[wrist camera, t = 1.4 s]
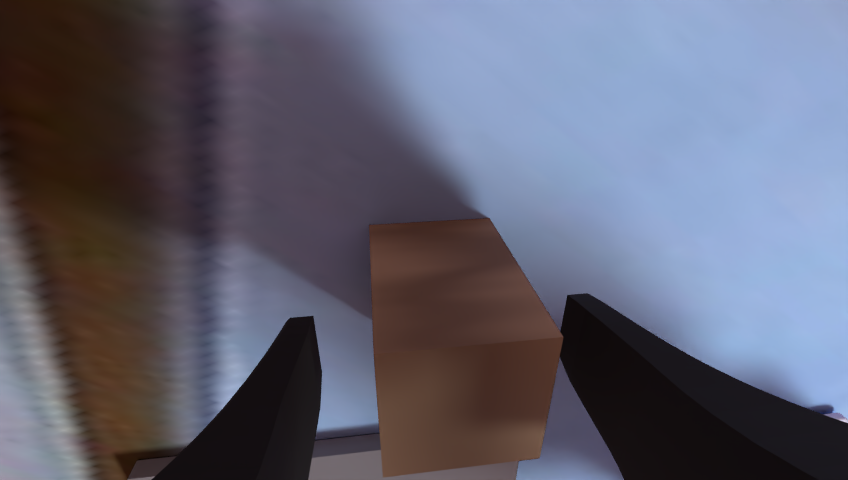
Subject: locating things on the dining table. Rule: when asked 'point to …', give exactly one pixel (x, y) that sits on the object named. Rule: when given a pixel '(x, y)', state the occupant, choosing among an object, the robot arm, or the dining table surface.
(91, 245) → the dining table surface
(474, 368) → the brown rectangular block
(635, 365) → the robot arm
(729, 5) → the dining table surface
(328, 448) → the socket
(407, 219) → the dining table surface
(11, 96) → the dining table surface
